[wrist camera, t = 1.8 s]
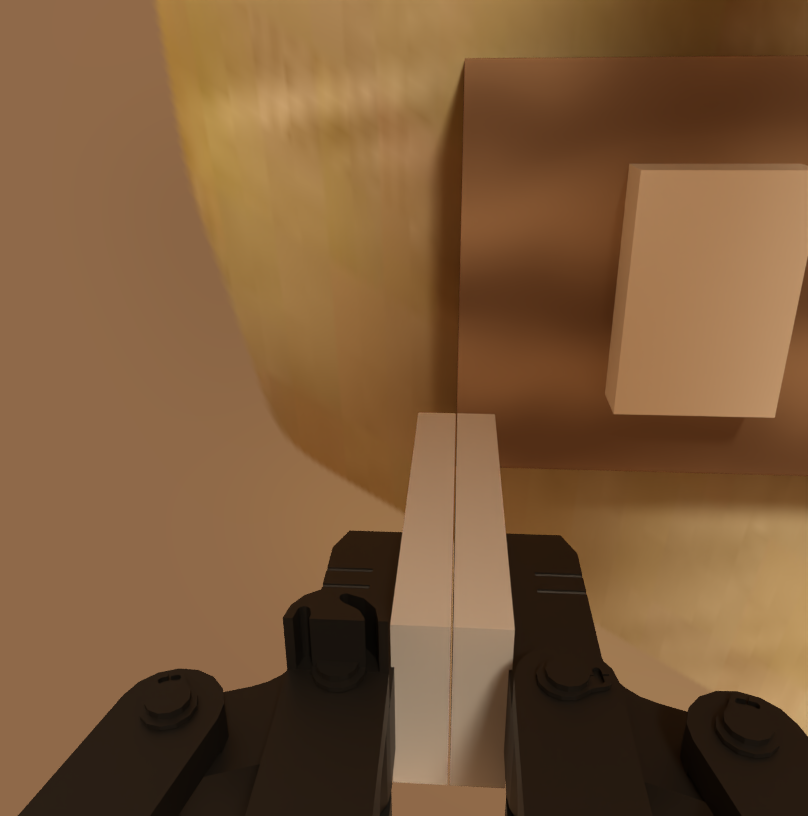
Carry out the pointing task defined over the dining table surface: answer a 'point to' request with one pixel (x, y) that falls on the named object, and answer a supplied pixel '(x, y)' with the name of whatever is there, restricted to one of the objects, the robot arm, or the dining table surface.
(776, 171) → the cream rectangular block
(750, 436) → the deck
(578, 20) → the dining table surface
